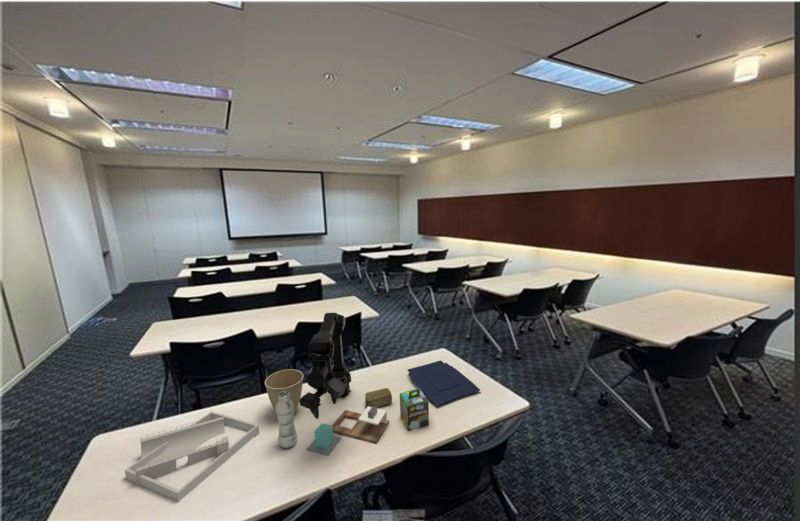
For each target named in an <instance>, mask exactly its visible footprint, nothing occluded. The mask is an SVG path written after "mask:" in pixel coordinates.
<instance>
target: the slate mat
mask: <svg viewBox="0 0 800 521" xmlns="http://www.w3.org/2000/svg"><path fill="white" fill-rule="evenodd" d="M341 440H342V437H340V436H336V435H334V434H333V441H332V443H331V444H330V445H329V447H328V448H327V449H324V448H321V447H317V446H316V442H315V439H314V440H313V441H312V442H311V443H310V444H309V446H307V448H306V450H307V451H309V452H313V453H316V454H319V455H323V456H326V457H329V455H330V454H331V453H332V452H333V450H334V449H335V448H336V447H337V446H338V444H339V443H340V441H341Z"/></svg>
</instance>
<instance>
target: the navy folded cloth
mask: <svg viewBox="0 0 800 521" xmlns="http://www.w3.org/2000/svg"><path fill="white" fill-rule="evenodd" d="M406 370H407V372H408V373H407V374H408V376H409V378H410V379H411V380H412V381H413V382H414V383H415V384H416V385H417V386H418V388H420V389H421V391H422V392H423V393H424V395H425V396H426V397H427V399H428V400H429V401H431V402H433V404H434V405H435V406H439V405H442V404H444V403H447V402H449V401H452V400H454V399H457V398H460V397H463V396H466V395H469V394H472V393H475V392H479V391H481V389H480V388H479V387H478V386H477V385H476V384H475V383H474V382H473V381H471V380H470V379H469V378H468V377H466V376H465V375H463V373H462V372H460V371H459V370H458V369H457V368H455V367H454V366H453V365H450V364H449V363H448V362H444V361H442V359H440V360H437V361H433V362H431V363H427V364H423V365H419V366H415V367H411V368H408V369H406Z"/></svg>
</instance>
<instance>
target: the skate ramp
mask: <svg viewBox="0 0 800 521" xmlns="http://www.w3.org/2000/svg"><path fill="white" fill-rule="evenodd" d="M224 415H225V414H222V416H223V417H220V418H216V419H213V420H209V421H206V422H202V423H199V424H195V425H192V424H194V423H195V422H197V420H195V421H194V422H191V425H192V426H191V425H190V422H188V423H185V424H183V427H181V426H176V427H174V429H173V430H172V427H171V428H169V429H170V431H169V429H168V428H167V429H165V431H166V432H163V431H161V430H158V432H156V431H155V432H154V434H150V433H149V434H147V436H146V437H145V436H143V435H142V436H140V438H139V439H140V440H139V441H140V459H142V458H143V457H145V456H146V455H147V454H149V453H150V452H152V451H153V450H155V449H156V448H158V447H159V446H161V445H162V444H164V443H165V442H168V441H170V442H169V445H168V446H167V447H166V449H165V450H164V451H163V452H162V453H161V454H160V455H158V456H157V457H156V458H154V459H153V460H151V461H150V462H148V463H147V464H146V465H144V466H142V467H141V466H140V468H138V467H137V468H135V473H136V482H137V483H136V486H139V476H140V475H145V476H147V477H149V478H152V479H154V480H156V479H157V478H161V477H163V476H165V475H168V474H170V473H173V472H176V471H177V464H178V462H177V461H179V460H181V459H183V458H184V457H187V464H188V465H187V467H188V466H189V467H190V466H191V465H194V464H196V463H199V462H201V461H205V460H207V459H210V458H212V457H215V456H216V458H217V457H219V456H220V455H221V454H222V453H223V452H225V451H228V450H229V446H230V445H229V436H228V435H226V436H223V437H221V440H217V441H216V442H214V443H211V444H208V445H205V446H202V445H203V444H205V443H206V442H208V441H209V440H211V439H213V438H216V437H218V436H221V435H223V434H225V433H226V430H225V424H224ZM217 416H218V417H219V415H217ZM206 419H207V418H206ZM211 419H212V418H211ZM198 420H199V421H200V419H198ZM203 421H205V420H204V419H203ZM197 423H198V422H197ZM162 432H163V433H162ZM207 440H208V441H207ZM204 442H205V443H204ZM201 444H202V445H201ZM199 445H200V446H199ZM135 467H136V466H135Z"/></svg>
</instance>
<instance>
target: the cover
mask: <svg viewBox="0 0 800 521" xmlns="http://www.w3.org/2000/svg"><path fill="white" fill-rule="evenodd" d="M361 414H362V415H361V416H360V418H359V419H358V421H362V422H366V423H370V424H374V425H379V423H380V422H382V423H387V420H388V412H387V410H386V409H382V408H381V409H380V408H378V407H373V406H372V407H369V406H368V407H365V410H364V411H363V412H362V413H361Z"/></svg>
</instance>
